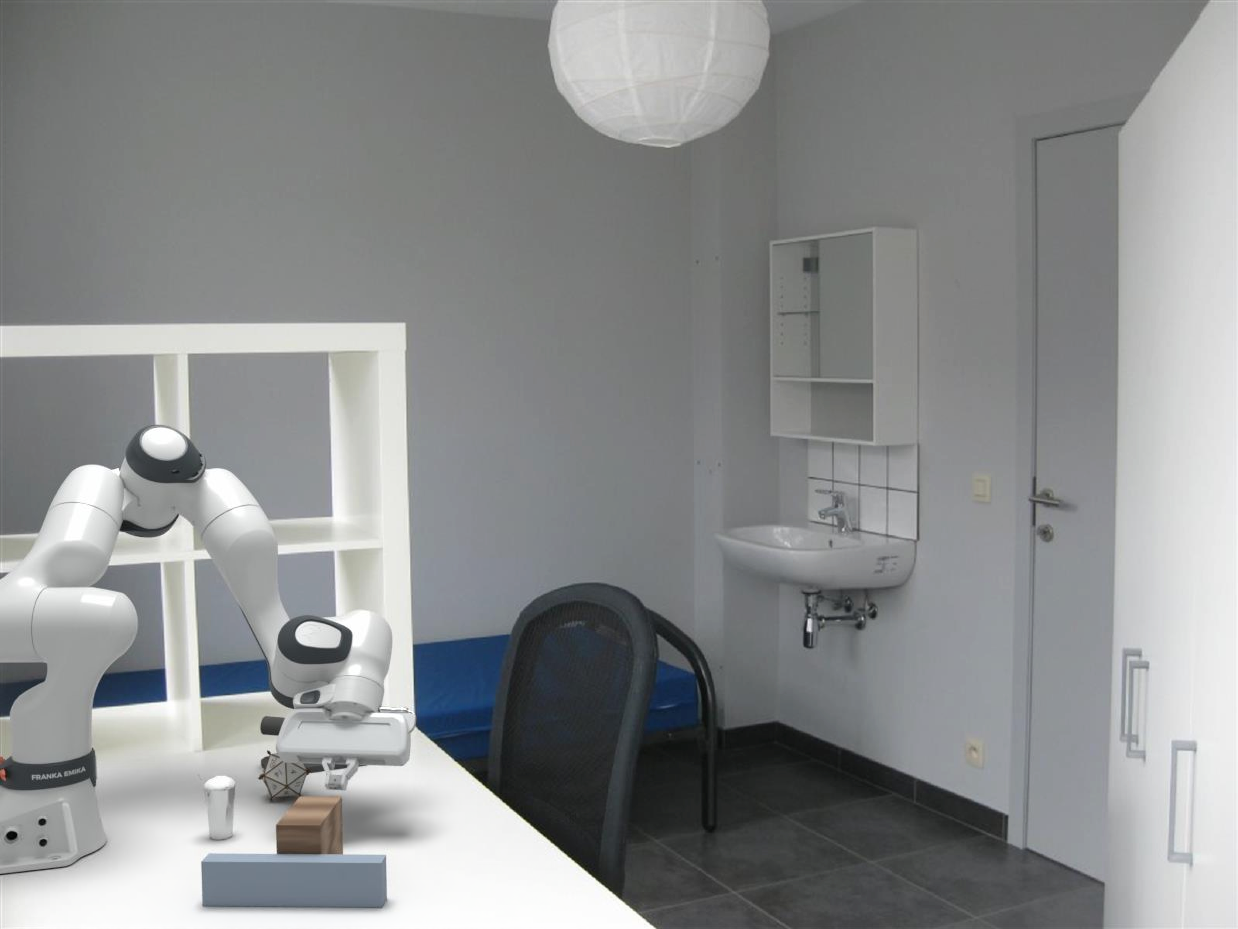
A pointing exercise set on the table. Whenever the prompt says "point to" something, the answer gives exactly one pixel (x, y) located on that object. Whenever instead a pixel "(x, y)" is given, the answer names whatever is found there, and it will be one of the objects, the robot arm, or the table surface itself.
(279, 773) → the game die
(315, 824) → the walnut block
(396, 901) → the table surface
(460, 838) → the table surface
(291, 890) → the slate board
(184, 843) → the table surface
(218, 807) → the milkshake
